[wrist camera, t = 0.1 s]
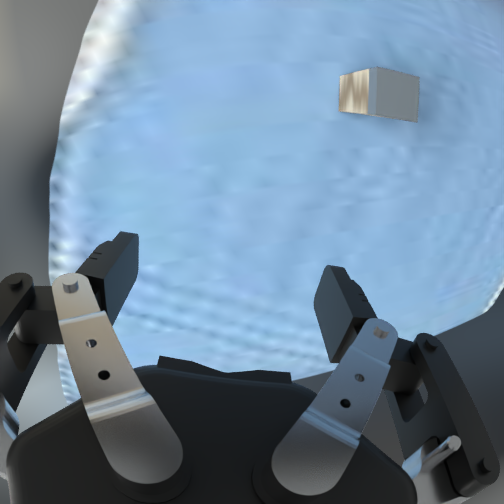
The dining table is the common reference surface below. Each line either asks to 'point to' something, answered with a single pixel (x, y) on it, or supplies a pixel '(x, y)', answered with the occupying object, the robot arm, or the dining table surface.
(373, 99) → the maple block
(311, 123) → the dining table surface
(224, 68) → the dining table surface
